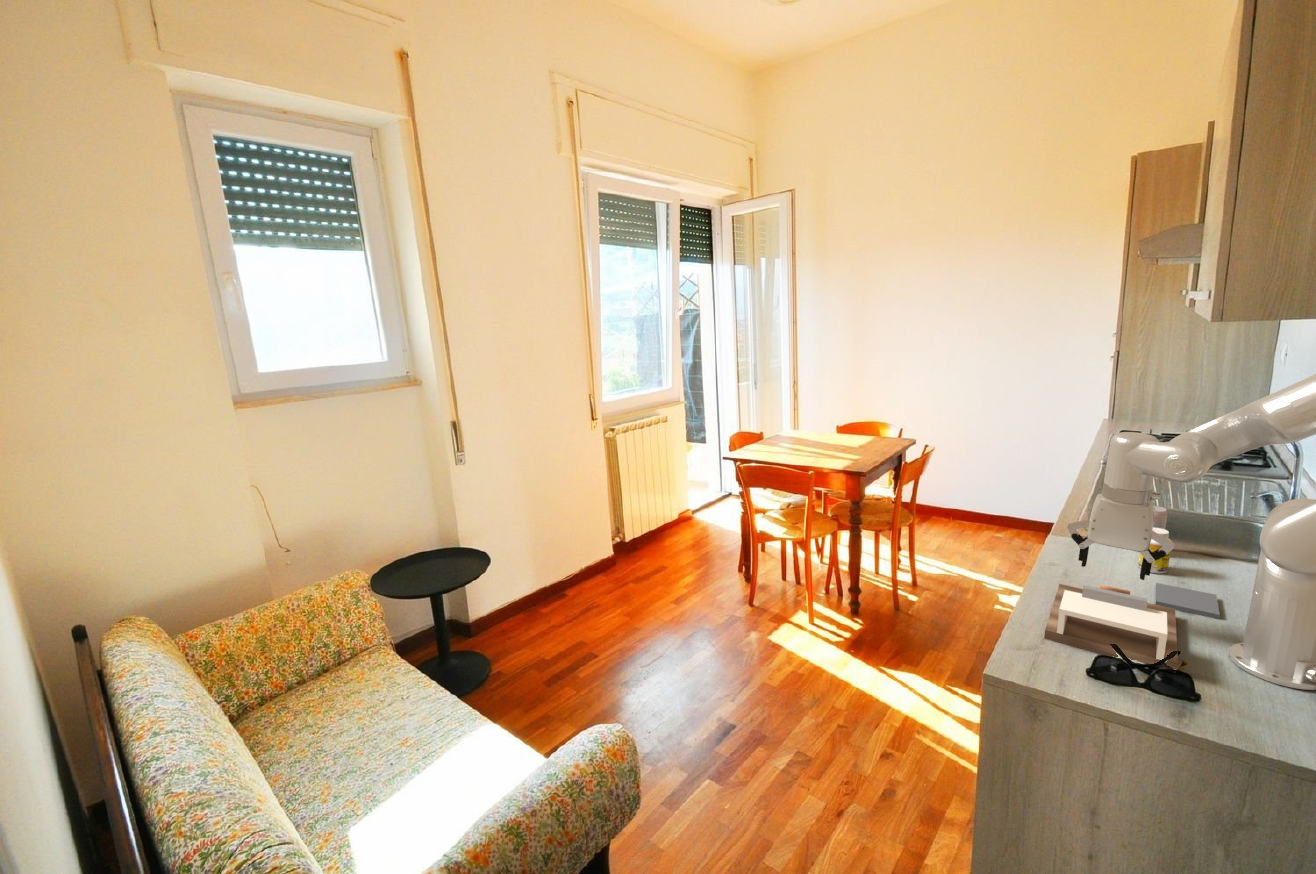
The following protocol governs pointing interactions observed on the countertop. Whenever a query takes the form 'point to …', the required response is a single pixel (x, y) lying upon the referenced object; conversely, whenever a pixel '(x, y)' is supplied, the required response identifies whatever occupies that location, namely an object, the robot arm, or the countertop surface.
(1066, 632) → the puzzle board
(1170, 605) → the slate mat
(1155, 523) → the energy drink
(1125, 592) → the block
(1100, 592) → the cream bridge stand
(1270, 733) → the countertop surface
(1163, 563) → the supplement bottle
